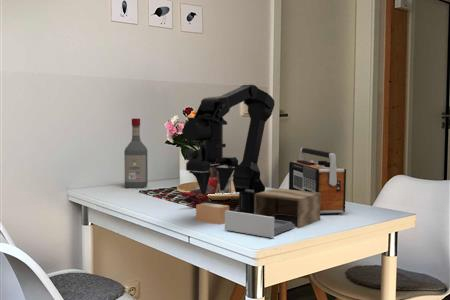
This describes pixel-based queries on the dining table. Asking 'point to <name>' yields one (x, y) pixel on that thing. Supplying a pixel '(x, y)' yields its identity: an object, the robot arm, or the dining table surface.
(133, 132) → the liquor
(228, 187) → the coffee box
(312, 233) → the dining table surface
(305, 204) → the box
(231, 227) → the tray
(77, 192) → the dining table surface
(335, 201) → the radio cassette player
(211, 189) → the decorative bird figurine
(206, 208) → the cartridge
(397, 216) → the dining table surface
